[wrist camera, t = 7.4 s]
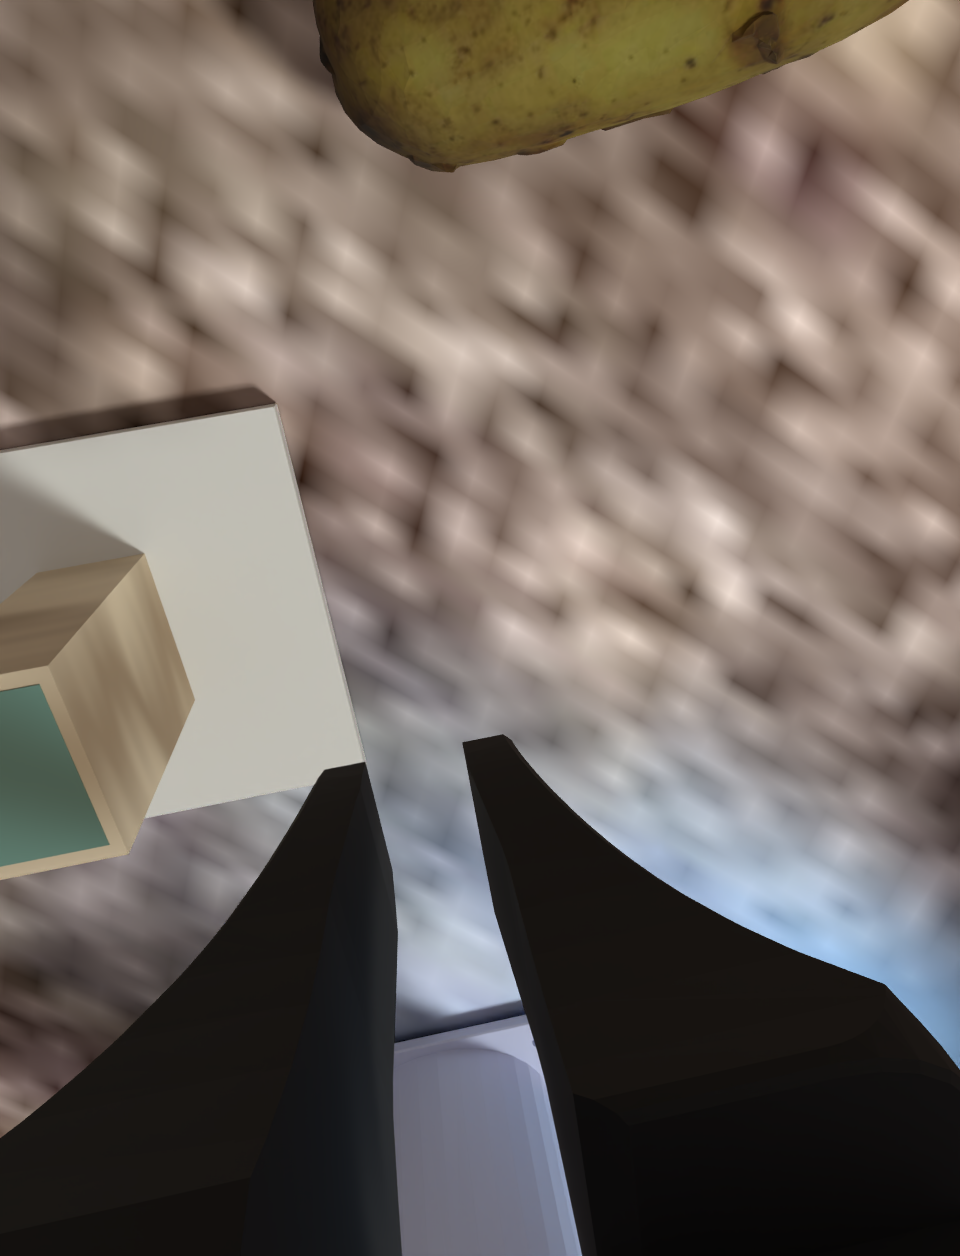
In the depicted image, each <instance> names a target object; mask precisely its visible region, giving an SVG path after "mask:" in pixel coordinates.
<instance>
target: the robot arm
mask: <svg viewBox="0 0 960 1256" xmlns="http://www.w3.org/2000/svg"><path fill="white" fill-rule="evenodd" d="M462 743H463V748H464V753H465V759H466V764H467V770H468V775H469V780H470V786H471V791H472V796H473V802H474V807H475V813H476V818H477V823H478V829H479V834H480V840H481V845H482V850H483V855H484V861H485V866H486V871H487V876H488V881H489V886H490V891H491V896H492V902H493V907H494V912H495V915H496V918H497V922H498V925H499V928H500V932H501V935H502V938H503V941H504V945H505V948H506V951H507V955H508V958H509V961H510V964H511V968H512V971H513V974H514V977H515V981H516V984H517V987H518V990H519V994H520V997H521V1000H522V1003H523V1007H524V1010H525V1013H526V1015H521V1016H517V1017H512V1018H508V1019H503V1020H499V1021H494V1022H489V1023H485V1024H480V1025H476V1026H471V1027H467V1028H462V1029H457V1030H453V1031H448V1032H444V1033H439V1034H435V1035H430V1036H425V1037H421V1038H416V1039H412V1040H407V1041H403V1042H398V1043H394V1038H395V1008H396V978H397V942H398V929H397V917H396V905H395V894H394V883H393V872H392V867H391V863H390V859H389V855H388V851H387V847H386V843H385V839H384V835H383V831H382V827H381V823H380V819H379V815H378V811H377V807H376V803H375V799H374V795H373V791H372V787H371V783H370V779H369V775H368V771H367V767H366V763H365V762H361V763H356V764H351V765H345V766H340V767H335V768H330V769H325V770H324V771H323V772H322V773H321V775H320V776H319V777H318V779H317V781H316V783H315V784H314V786H313V788H312V790H311V792H310V793H309V795H308V797H307V799H306V800H305V802H304V804H303V806H302V808H301V809H300V811H299V813H298V814H297V816H296V818H295V820H294V821H293V823H292V825H291V826H290V828H289V830H288V831H287V833H286V835H285V836H284V838H283V839H282V841H281V843H280V844H279V846H278V847H277V849H276V851H275V852H274V854H273V855H272V857H271V858H270V860H269V862H268V863H267V865H266V866H265V868H264V869H263V871H262V872H261V874H260V875H259V877H258V878H257V879H256V881H255V882H254V884H253V885H252V887H251V888H250V889H249V891H248V892H247V894H246V895H245V896H244V898H243V899H242V901H241V902H240V903H239V905H238V906H237V908H236V909H235V910H234V912H233V913H232V915H231V916H230V917H229V918H228V920H227V921H226V922H225V924H224V925H223V926H222V927H221V929H220V930H219V931H218V933H217V934H216V935H215V936H214V938H213V939H212V940H211V941H210V943H209V944H208V945H207V946H206V947H205V948H204V950H203V951H202V952H201V953H200V954H199V955H198V956H197V958H196V959H195V960H194V961H193V962H192V963H191V965H190V966H189V967H188V968H187V969H186V970H185V971H184V972H183V973H182V975H181V976H180V977H179V978H178V979H177V980H176V981H175V982H174V983H173V984H172V985H171V986H170V987H169V988H168V989H167V990H166V991H165V992H164V993H163V994H162V995H161V996H160V997H159V998H158V999H157V1000H156V1001H155V1002H154V1003H153V1004H152V1005H151V1006H150V1007H149V1008H148V1009H147V1010H146V1011H145V1012H144V1013H143V1014H142V1015H141V1016H140V1017H139V1018H138V1019H137V1020H136V1021H135V1022H134V1023H133V1024H132V1025H131V1026H130V1027H129V1028H128V1029H127V1030H126V1031H125V1032H124V1033H123V1034H122V1035H121V1036H120V1037H119V1038H118V1039H117V1040H116V1041H115V1042H114V1043H113V1044H112V1045H111V1046H110V1047H108V1048H107V1049H106V1050H105V1051H104V1052H103V1053H102V1054H101V1055H100V1056H98V1057H97V1058H96V1059H95V1060H94V1061H93V1062H92V1063H91V1064H90V1065H88V1066H87V1067H86V1068H85V1069H84V1070H83V1071H82V1072H81V1073H79V1074H78V1075H77V1076H76V1077H75V1078H74V1079H72V1080H71V1081H70V1082H69V1083H68V1084H67V1085H65V1086H64V1087H63V1088H62V1089H61V1090H60V1091H58V1092H57V1093H56V1094H55V1095H54V1096H53V1097H51V1098H50V1099H49V1100H48V1101H47V1102H46V1103H44V1104H43V1105H42V1106H41V1107H39V1108H38V1109H37V1110H36V1111H34V1112H33V1113H32V1114H31V1115H30V1116H28V1117H27V1118H26V1119H25V1120H23V1121H22V1122H21V1123H20V1124H18V1125H17V1126H16V1127H14V1128H13V1129H12V1130H11V1131H9V1132H8V1133H7V1134H5V1135H4V1136H3V1137H1V1138H0V1256H960V1070H959V1068H958V1067H957V1066H956V1064H955V1063H954V1062H953V1060H952V1059H951V1058H950V1056H949V1055H948V1054H947V1052H946V1051H945V1050H944V1049H943V1047H942V1046H941V1045H940V1044H939V1043H938V1042H937V1040H936V1039H935V1038H934V1037H933V1036H932V1035H931V1034H930V1032H929V1031H928V1030H927V1029H926V1028H925V1027H924V1026H923V1025H922V1023H921V1022H920V1021H919V1020H918V1019H917V1018H916V1017H915V1016H914V1015H913V1014H912V1013H911V1012H910V1011H909V1010H908V1009H907V1008H906V1006H905V1005H904V1004H903V1003H902V1002H901V1001H900V1000H899V999H898V998H897V997H896V996H895V995H894V994H893V993H892V991H891V990H890V989H889V988H888V987H887V986H886V985H885V984H883V983H880V982H877V981H875V980H872V979H869V978H867V977H864V976H861V975H859V974H856V973H853V972H851V971H848V970H845V969H843V968H840V967H837V966H835V965H832V964H829V963H827V962H824V961H821V960H819V959H816V958H813V957H811V956H808V955H805V954H803V953H800V952H798V951H795V950H793V949H791V948H788V947H786V946H784V945H782V944H779V943H777V942H775V941H773V940H771V939H769V938H766V937H764V936H762V935H760V934H758V933H755V932H753V931H751V930H749V929H747V928H745V927H743V926H741V925H739V924H737V923H735V922H733V921H731V920H729V919H727V918H725V917H723V916H722V915H720V914H718V913H716V912H714V911H713V910H711V909H709V908H707V907H705V906H704V905H702V904H700V903H698V902H696V901H695V900H693V899H691V898H689V897H687V896H685V895H684V894H682V893H681V892H679V891H677V890H676V889H674V888H673V887H671V886H670V885H668V884H666V883H665V882H663V881H662V880H660V879H659V878H657V877H656V876H654V875H653V874H651V873H650V872H649V871H647V870H646V869H644V868H643V867H641V866H640V865H639V864H637V863H636V862H634V861H633V860H632V859H630V858H629V857H628V856H626V855H625V854H624V853H622V852H621V851H620V850H619V849H617V848H616V847H615V846H613V845H612V844H611V843H610V842H608V841H607V840H606V839H605V838H604V837H603V836H601V835H600V834H599V833H598V832H597V831H595V830H594V829H593V828H592V827H591V826H590V825H588V824H587V823H586V822H585V821H584V820H583V819H582V818H581V817H580V816H578V815H577V814H576V813H575V812H574V811H573V810H572V809H571V808H570V807H569V806H568V805H567V804H566V803H565V802H564V801H563V800H562V799H561V798H560V797H559V796H558V795H557V794H556V793H555V792H554V791H553V790H552V789H551V788H550V787H549V786H548V785H547V784H546V783H545V782H544V781H543V780H542V778H541V777H540V776H539V775H538V774H537V773H536V772H535V770H534V769H533V768H532V767H531V766H530V765H529V763H528V762H527V761H526V760H525V759H524V757H523V756H522V755H521V753H520V752H519V751H518V749H517V748H516V747H515V745H514V744H513V742H512V740H511V739H509V738H508V737H506V736H505V735H503V734H502V735H497V736H492V737H487V738H482V739H477V740H472V741H467V742H462Z"/></svg>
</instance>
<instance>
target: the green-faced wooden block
mask: <svg viewBox="0 0 960 1256" xmlns="http://www.w3.org/2000/svg"><path fill="white" fill-rule="evenodd" d="M194 701H195V698H194V695H193V692H192V689H191V686H190V683H189V680H188V678H187V675H186V672H185V669H184V666H183V663H182V660H181V657H180V654H179V652H178V649H177V646H176V643H175V640H174V637H173V634H172V631H171V628H170V626H169V623H168V620H167V617H166V614H165V611H164V608H163V605H162V602H161V600H160V597H159V594H158V591H157V588H156V585H155V582H154V579H153V576H152V574H151V571H150V568H149V565H148V562H147V559H146V556H145V553H144V554H139V555H133V556H128V557H122V558H117V559H111V560H105V561H100V562H94V563H89V564H83V565H78V566H72V567H66V568H61V569H55V570H50V571H44V572H39V573H36V574H35V575H34V576H33V577H31V578H30V579H29V580H28V581H27V582H25V583H24V584H23V585H22V586H21V587H20V588H18V589H17V590H16V591H15V592H14V593H12V594H11V595H10V596H9V597H8V598H7V599H5V600H4V601H3V602H2V603H1V604H0V880H3V879H8V878H13V877H18V876H23V875H28V874H33V873H38V872H43V871H48V870H53V869H58V868H63V867H68V866H72V865H77V864H82V863H87V862H92V861H97V860H102V859H107V858H112V857H117V856H122V855H127V854H129V852H130V850H131V848H132V845H133V843H134V841H135V838H136V836H137V834H138V831H139V829H140V827H141V824H142V822H143V820H144V817H145V815H146V813H147V810H148V808H149V806H150V803H151V801H152V799H153V797H154V794H155V792H156V790H157V787H158V785H159V783H160V780H161V778H162V776H163V773H164V771H165V769H166V766H167V764H168V762H169V759H170V757H171V755H172V752H173V750H174V748H175V745H176V743H177V741H178V738H179V736H180V734H181V731H182V729H183V727H184V725H185V722H186V720H187V718H188V715H189V713H190V711H191V708H192V706H193V704H194Z"/></svg>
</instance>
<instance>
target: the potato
mask: <svg viewBox="0 0 960 1256" xmlns="http://www.w3.org/2000/svg"><path fill="white" fill-rule="evenodd" d="M907 1H908V0H313V6H314V12H315V18H316V24H317V28H318V32H319V35H320V59H321V62H322V64H323V65H324V66H325V68H326V69H327V70H328V71H329V72H330V73H331V74H332V78H333V82H334V87H335V92H336V95H337V97H338V99H339V101H340V103H341V105H342V107H343V109H344V111H345V113H346V114H347V115H348V117H349V118H350V119H351V120H352V121H353V123H354V124H355V125H356V126H357V127H358V129H359V130H361V131H362V132H363V133H364V134H366V135H367V136H368V137H370V138H371V139H372V140H373V141H375V142H376V143H377V144H379V145H381V146H383V147H385V148H387V149H389V150H391V151H393V152H395V153H398V154H400V155H402V156H404V157H406V158H409V159H410V160H411V161H412V162H413V163H414V164H415V165H417V166H420V167H423V168H425V169H428V170H431V171H439V172H454V171H455V170H456V169H457V168H458V167H460V166H465V165H470V164H475V163H481V162H487V161H493V160H497V159H501V158H505V157H509V156H512V155H516V154H518V155H532V154H539V153H542V152H545V151H547V150H550V149H553V148H556V147H558V146H561V145H563V144H564V143H565V142H566V140H567V139H570V138H573V137H576V136H579V135H582V134H585V133H588V132H592V131H595V130H599V129H602V130H605V131H606V130H609V129H612V128H615V127H619V126H622V125H625V124H628V123H631V122H634V121H638V120H641V119H644V118H649V117H654V116H659V115H665V114H669V113H670V112H671V110H672V109H673V108H674V107H677V106H680V105H682V104H685V103H688V102H691V101H694V100H697V99H700V98H703V97H705V96H708V95H711V94H713V93H716V92H718V91H721V90H723V89H726V88H728V87H731V86H733V85H736V84H738V83H741V82H743V81H745V80H747V79H750V78H752V77H754V76H757V75H759V74H765V73H767V72H770V71H771V70H774V69H778V68H779V67H781V66H783V65H785V64H788V63H791V62H794V61H797V60H800V59H803V58H806V57H809V56H811V55H813V54H814V53H816V52H818V51H819V50H821V49H824V48H826V47H828V46H830V45H832V44H835V43H837V42H839V41H841V40H843V39H845V38H847V37H849V36H850V35H852V34H854V33H856V32H858V31H859V30H861V29H863V28H865V27H867V26H868V25H870V24H872V23H874V22H876V21H878V20H879V19H881V18H883V17H885V16H887V15H888V14H890V13H892V12H893V11H894V10H896V9H897V8H899V7H900V6H902V5H903V4H904V3H906V2H907Z"/></svg>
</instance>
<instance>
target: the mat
mask: <svg viewBox="0 0 960 1256" xmlns="http://www.w3.org/2000/svg"><path fill="white" fill-rule="evenodd" d="M144 553H145V556H146V559H147V562H148V565H149V568H150V571H151V574H152V576H153V579H154V582H155V585H156V588H157V591H158V594H159V597H160V600H161V602H162V605H163V608H164V611H165V614H166V617H167V620H168V623H169V626H170V628H171V631H172V634H173V637H174V640H175V643H176V646H177V649H178V652H179V654H180V657H181V660H182V663H183V666H184V669H185V672H186V675H187V678H188V680H189V683H190V686H191V689H192V692H193V695H194V698H195V701H194V704H193V706H192V708H191V711H190V713H189V715H188V718H187V720H186V722H185V725H184V727H183V729H182V731H181V734H180V736H179V738H178V741H177V743H176V745H175V748H174V750H173V752H172V755H171V757H170V759H169V762H168V764H167V766H166V769H165V771H164V773H163V776H162V778H161V780H160V783H159V785H158V787H157V790H156V792H155V794H154V797H153V799H152V801H151V803H150V806H149V808H148V810H147V813H146V815H145V817H144V818H149V817H154V816H159V815H164V814H169V813H174V812H179V811H184V810H189V809H194V808H199V807H204V806H209V805H214V804H219V803H224V802H229V801H234V800H239V799H244V798H250V797H255V796H260V795H265V794H270V793H275V792H280V791H285V790H290V789H295V788H300V787H305V786H310V785H314V784H315V783H316V781H317V779H318V777H319V776H320V775H321V773H322V772H323V771H324V770H325V769H330V768H335V767H340V766H345V765H351V764H356V763H361V762H365V763H366V766H367V762H366V758H365V754H364V750H363V746H362V742H361V738H360V734H359V730H358V726H357V722H356V718H355V714H354V710H353V706H352V702H351V698H350V694H349V690H348V686H347V682H346V678H345V674H344V670H343V666H342V662H341V658H340V654H339V650H338V646H337V642H336V638H335V634H334V630H333V626H332V622H331V618H330V614H329V610H328V606H327V602H326V598H325V594H324V590H323V586H322V582H321V578H320V574H319V570H318V566H317V562H316V558H315V554H314V550H313V546H312V542H311V538H310V534H309V530H308V526H307V522H306V518H305V514H304V510H303V506H302V502H301V498H300V494H299V490H298V486H297V482H296V478H295V474H294V470H293V466H292V462H291V458H290V454H289V450H288V446H287V442H286V438H285V434H284V430H283V426H282V422H281V418H280V414H279V410H278V406H277V403H275V404H269V405H263V406H257V407H251V408H245V409H240V410H234V411H228V412H222V413H216V414H210V415H204V416H198V417H193V418H187V419H181V420H175V421H169V422H163V423H157V424H151V425H145V426H140V427H134V428H128V429H122V430H116V431H110V432H104V433H98V434H93V435H87V436H81V437H75V438H69V439H63V440H57V441H51V442H46V443H40V444H34V445H28V446H22V447H16V448H10V449H4V450H0V604H1V603H2V602H3V601H4V600H5V599H7V598H8V597H9V596H10V595H11V594H12V593H14V592H15V591H16V590H17V589H18V588H20V587H21V586H22V585H23V584H24V583H25V582H27V581H28V580H29V579H30V578H31V577H33V576H34V575H35V574H36V573H39V572H44V571H50V570H55V569H61V568H66V567H72V566H78V565H83V564H89V563H94V562H100V561H105V560H111V559H117V558H122V557H128V556H133V555H139V554H144Z"/></svg>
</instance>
